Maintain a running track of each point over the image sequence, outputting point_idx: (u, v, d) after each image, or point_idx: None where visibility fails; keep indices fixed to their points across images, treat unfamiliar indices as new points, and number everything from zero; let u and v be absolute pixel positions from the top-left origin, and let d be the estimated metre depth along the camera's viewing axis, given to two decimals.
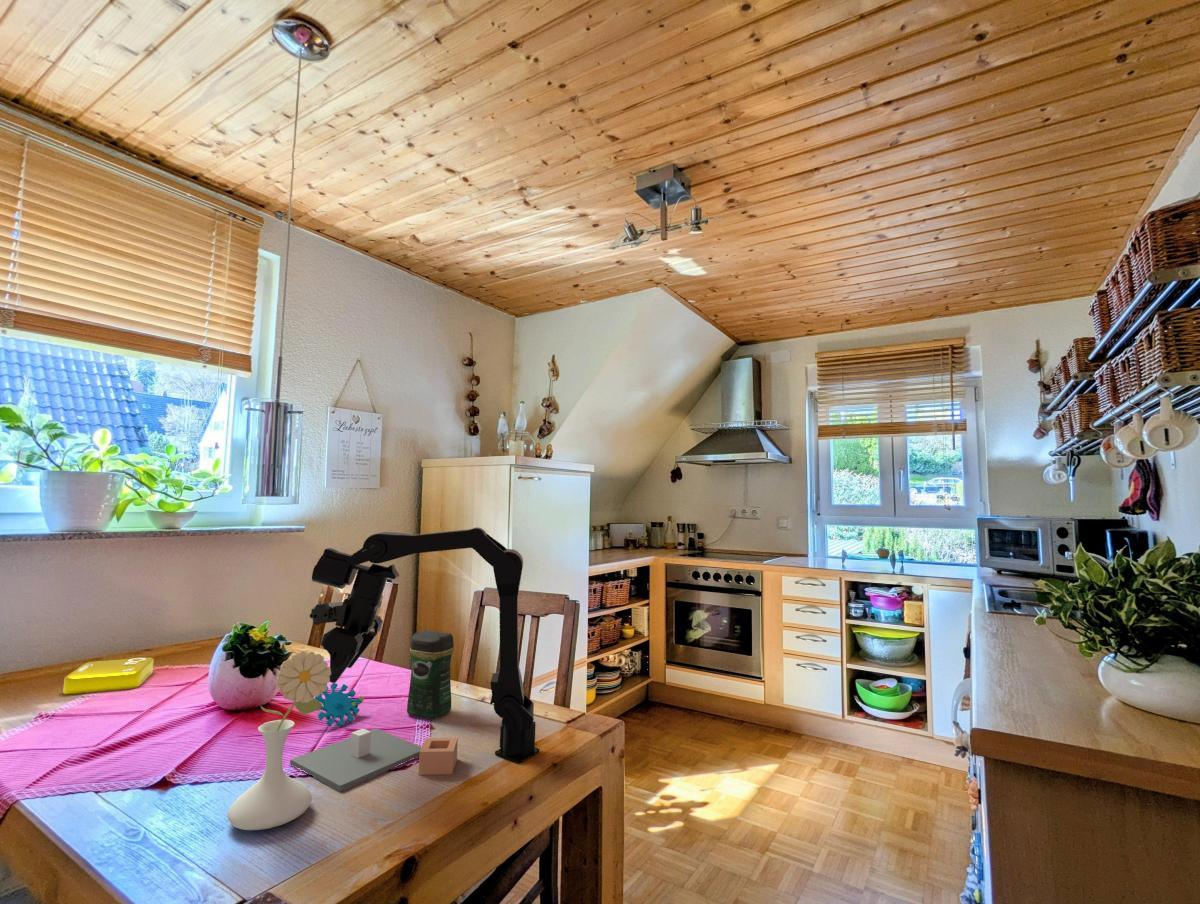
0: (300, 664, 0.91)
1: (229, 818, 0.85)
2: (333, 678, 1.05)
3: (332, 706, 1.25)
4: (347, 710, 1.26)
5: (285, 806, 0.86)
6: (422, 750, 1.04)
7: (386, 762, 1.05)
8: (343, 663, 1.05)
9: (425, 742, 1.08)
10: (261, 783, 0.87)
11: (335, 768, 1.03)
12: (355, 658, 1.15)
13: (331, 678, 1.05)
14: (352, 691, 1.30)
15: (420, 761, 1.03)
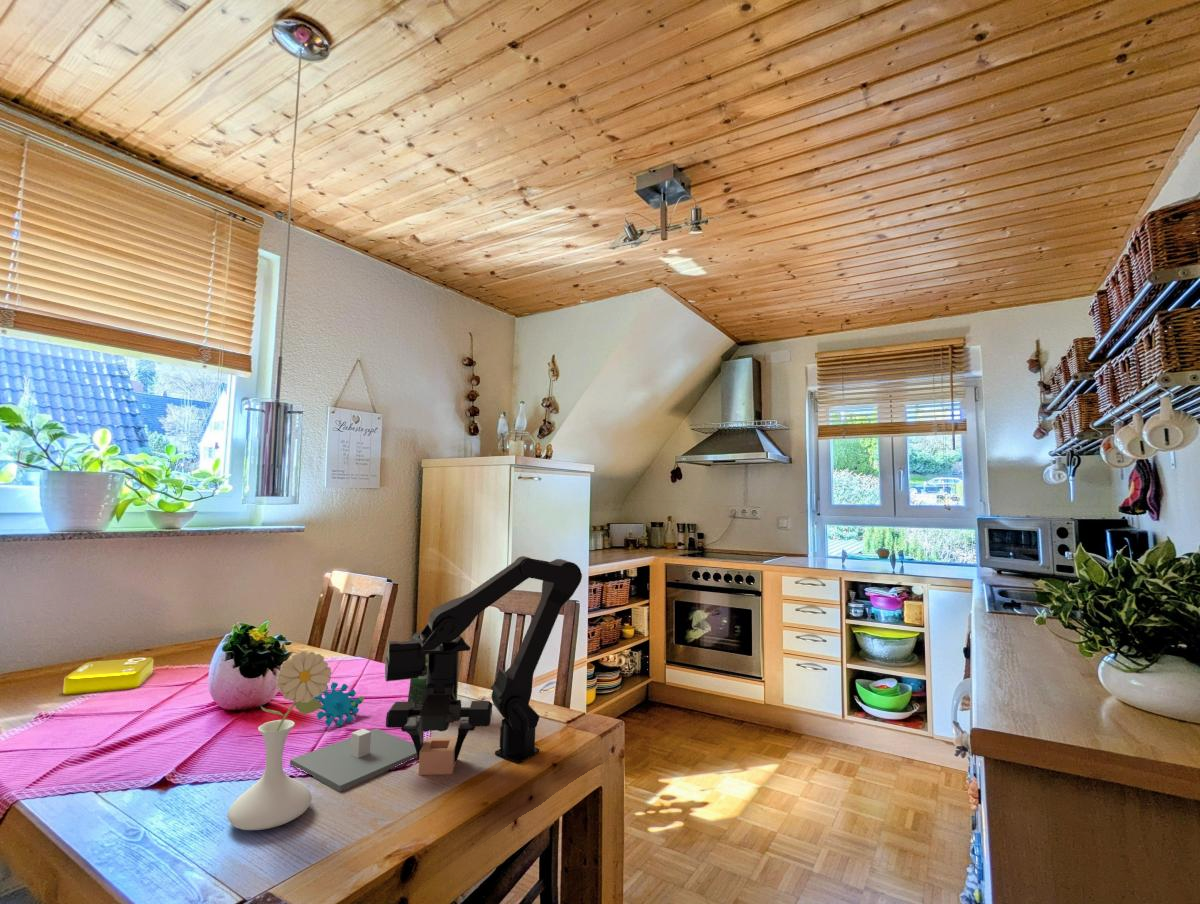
0: (300, 664, 0.91)
1: (229, 818, 0.85)
2: (458, 755, 1.07)
3: (331, 705, 1.25)
4: (347, 710, 1.26)
5: (285, 806, 0.86)
6: (422, 750, 1.04)
7: (386, 762, 1.05)
8: None
9: (425, 742, 1.08)
10: (261, 783, 0.87)
11: (335, 768, 1.03)
12: None
13: None
14: (352, 691, 1.30)
15: (420, 761, 1.03)
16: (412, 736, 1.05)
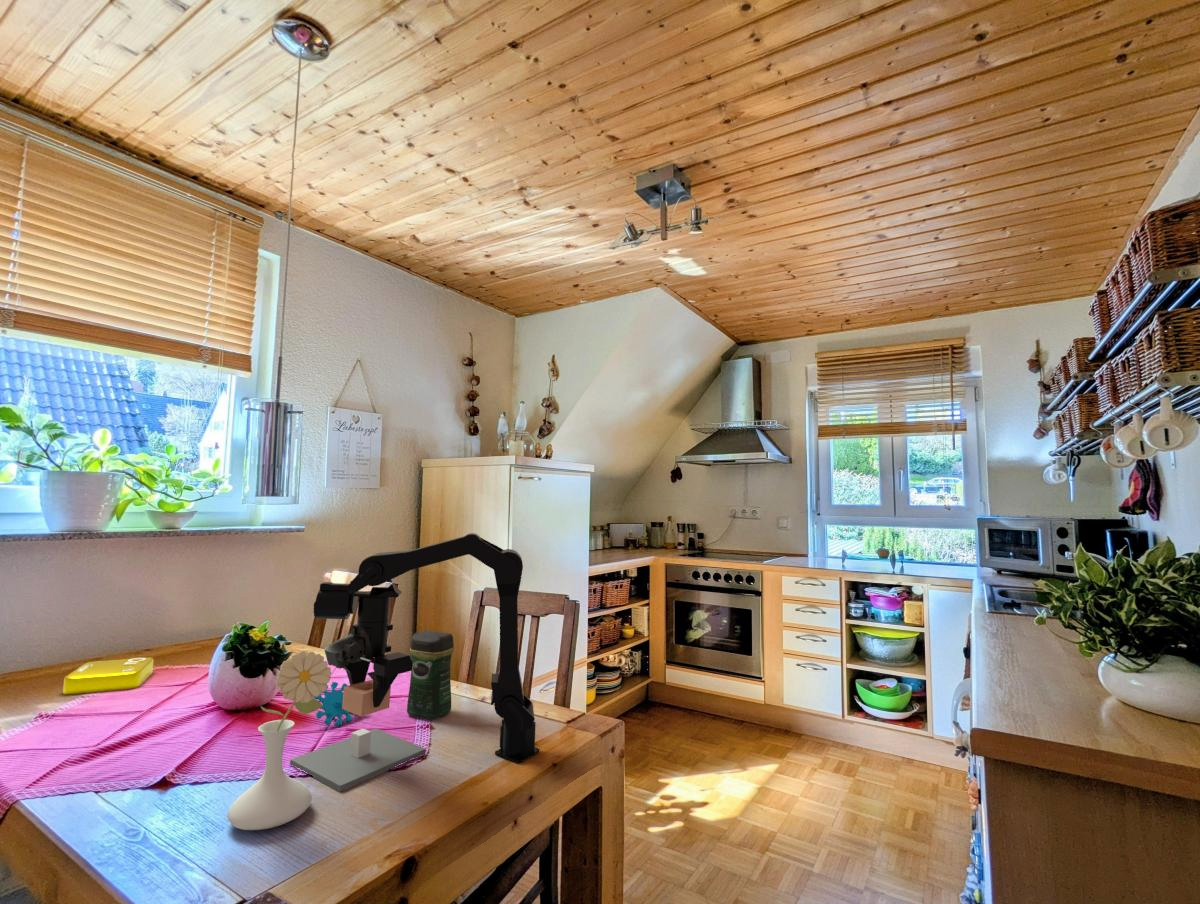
0: (300, 664, 0.91)
1: (229, 818, 0.85)
2: (378, 702, 1.07)
3: (331, 705, 1.25)
4: None
5: (285, 806, 0.86)
6: (348, 686, 1.09)
7: (386, 762, 1.05)
8: (388, 684, 1.08)
9: (363, 682, 1.12)
10: (261, 783, 0.87)
11: (335, 768, 1.03)
12: None
13: (376, 703, 1.07)
14: None
15: (343, 696, 1.08)
16: (347, 672, 1.11)
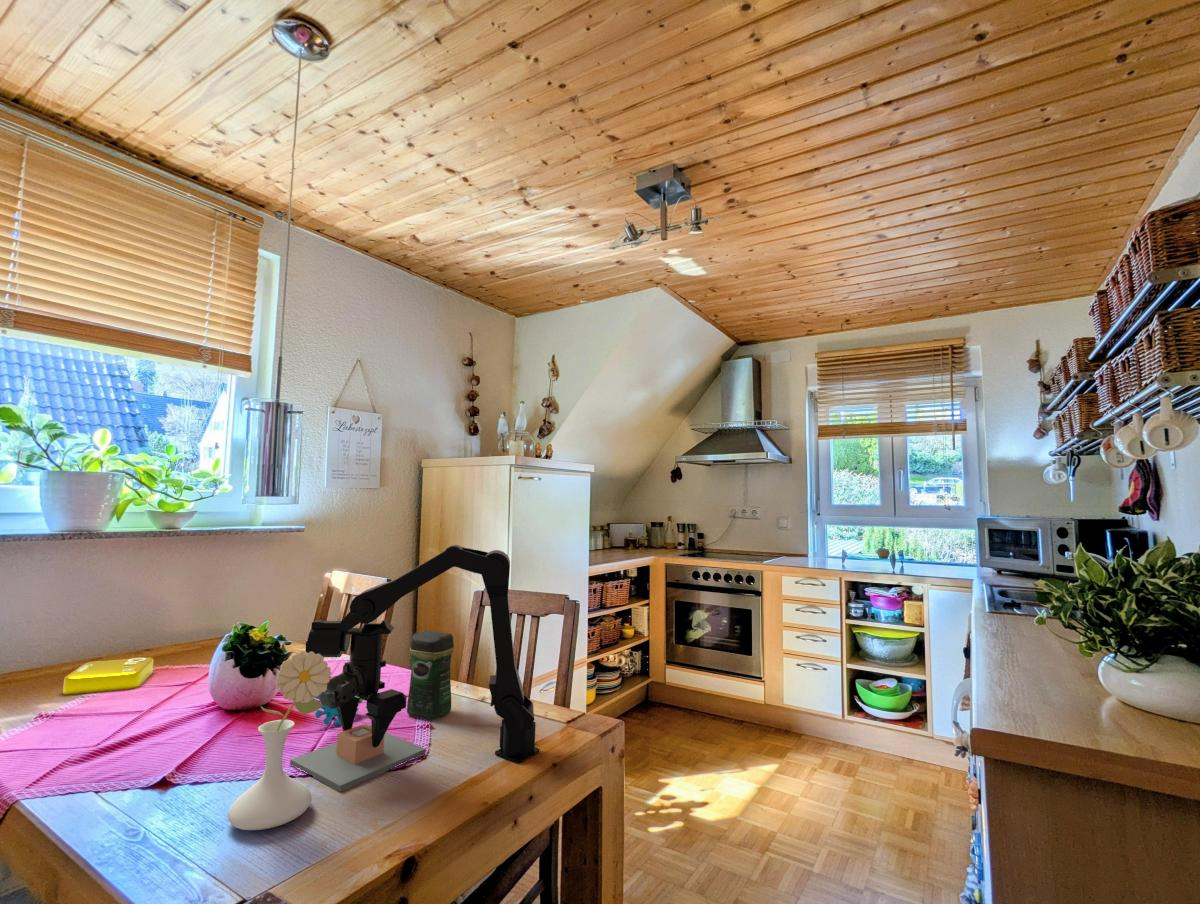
0: (300, 664, 0.91)
1: (229, 818, 0.85)
2: (377, 742, 1.06)
3: None
4: None
5: (285, 806, 0.86)
6: (341, 732, 1.08)
7: (386, 762, 1.05)
8: (386, 723, 1.07)
9: (357, 727, 1.11)
10: (261, 783, 0.87)
11: (335, 768, 1.03)
12: (352, 722, 1.12)
13: (375, 743, 1.06)
14: None
15: (337, 742, 1.08)
16: (337, 707, 1.11)
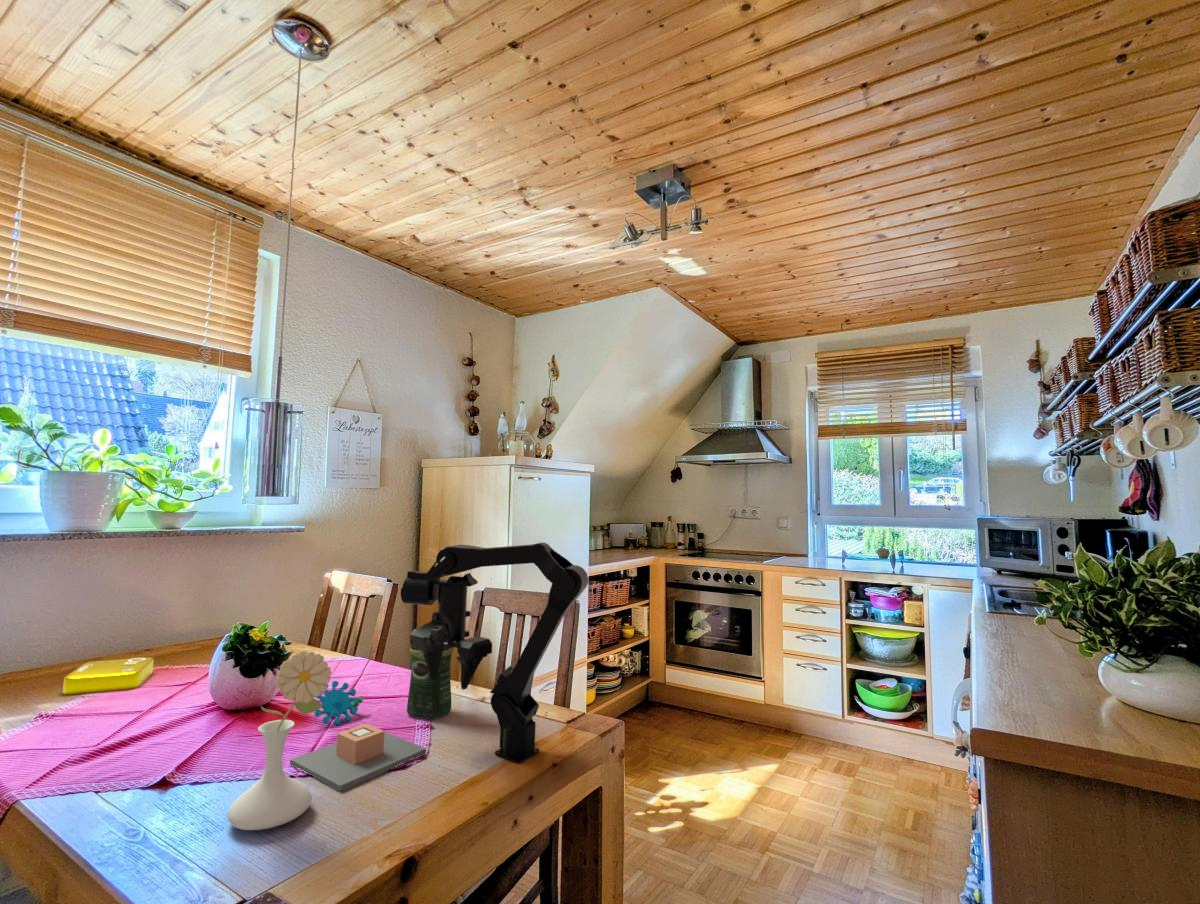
0: (300, 664, 0.91)
1: (229, 818, 0.85)
2: (466, 685, 1.14)
3: (330, 704, 1.26)
4: (345, 709, 1.27)
5: (285, 806, 0.86)
6: (341, 732, 1.08)
7: (386, 762, 1.05)
8: (474, 667, 1.15)
9: (357, 727, 1.11)
10: (261, 783, 0.87)
11: (335, 768, 1.03)
12: (437, 668, 1.20)
13: (464, 686, 1.14)
14: (353, 690, 1.31)
15: (337, 742, 1.08)
16: (424, 655, 1.19)
